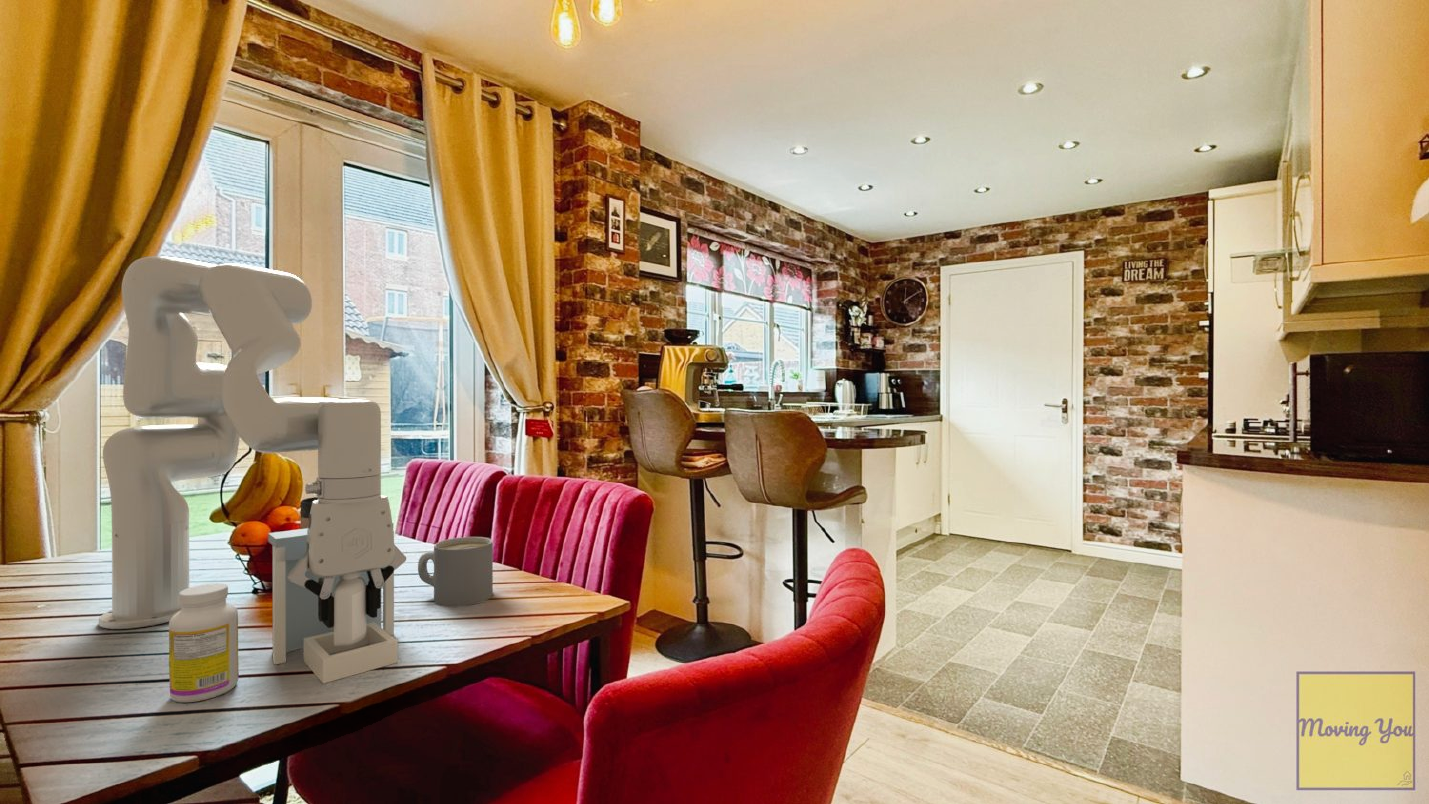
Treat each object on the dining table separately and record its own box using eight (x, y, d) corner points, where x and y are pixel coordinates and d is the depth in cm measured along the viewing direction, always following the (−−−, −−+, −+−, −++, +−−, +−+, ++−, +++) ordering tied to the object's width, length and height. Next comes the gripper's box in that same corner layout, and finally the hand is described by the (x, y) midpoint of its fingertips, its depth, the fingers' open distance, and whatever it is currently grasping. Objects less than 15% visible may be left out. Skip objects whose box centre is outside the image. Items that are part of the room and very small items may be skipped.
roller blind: (267, 653, 88) (267, 533, 88) (383, 625, 99) (383, 518, 99) (275, 664, 85) (274, 539, 85) (394, 634, 96) (393, 523, 96)
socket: (303, 660, 86) (303, 638, 86) (374, 642, 93) (374, 622, 93) (322, 683, 79) (322, 660, 79) (397, 662, 86) (397, 640, 86)
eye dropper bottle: (379, 633, 88) (379, 549, 88) (344, 649, 83) (344, 559, 82) (355, 630, 89) (355, 547, 89) (320, 645, 84) (319, 556, 84)
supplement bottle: (196, 680, 80) (196, 581, 80) (250, 678, 81) (250, 580, 81) (154, 706, 73) (153, 597, 73) (213, 704, 74) (213, 596, 74)
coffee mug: (503, 591, 117) (503, 538, 117) (468, 609, 107) (468, 551, 107) (444, 585, 121) (444, 534, 121) (405, 601, 111) (405, 545, 111)
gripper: (283, 498, 77) (283, 645, 77) (423, 485, 89) (423, 611, 89) (270, 492, 82) (270, 629, 83) (404, 480, 95) (404, 599, 95)
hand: (350, 618), depth 86 cm, fingers closed on eye dropper bottle, 4 cm apart
